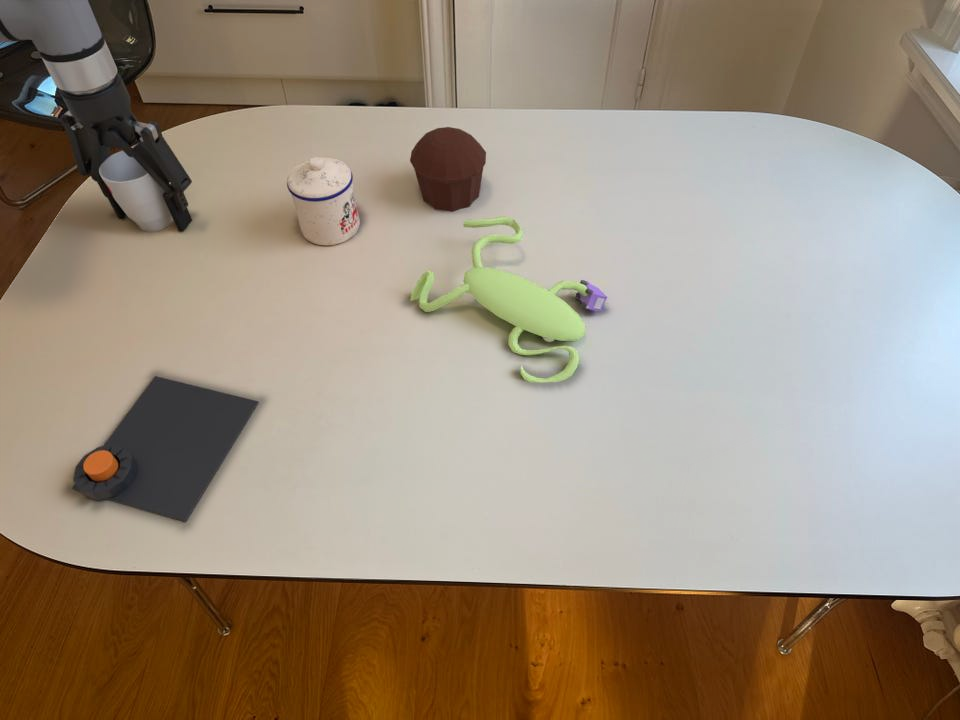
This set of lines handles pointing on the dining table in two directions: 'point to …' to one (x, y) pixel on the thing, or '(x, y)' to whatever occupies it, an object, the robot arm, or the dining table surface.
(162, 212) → the cup
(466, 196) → the muffin
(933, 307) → the dining table surface
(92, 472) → the button
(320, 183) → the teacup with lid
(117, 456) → the dark grey flat slab
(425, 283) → the figurine
